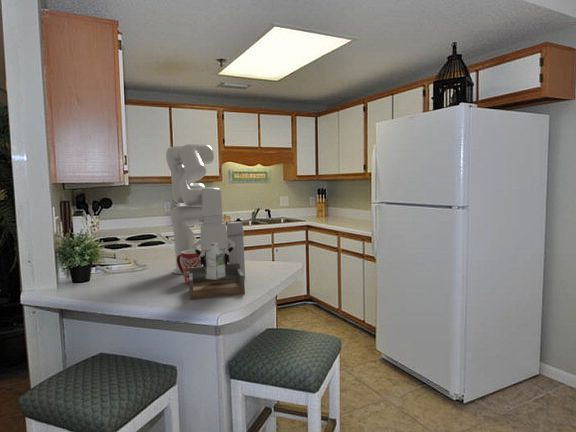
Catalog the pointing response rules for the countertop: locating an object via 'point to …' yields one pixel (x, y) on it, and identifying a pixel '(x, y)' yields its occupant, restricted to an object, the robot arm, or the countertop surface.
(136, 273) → the countertop surface
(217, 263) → the syrup box
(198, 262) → the mug
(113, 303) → the countertop surface
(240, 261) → the water bottle
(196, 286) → the shelf
